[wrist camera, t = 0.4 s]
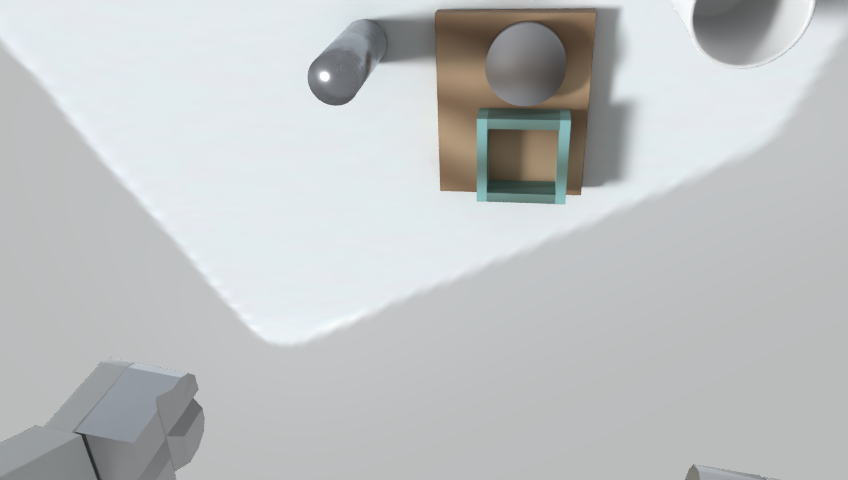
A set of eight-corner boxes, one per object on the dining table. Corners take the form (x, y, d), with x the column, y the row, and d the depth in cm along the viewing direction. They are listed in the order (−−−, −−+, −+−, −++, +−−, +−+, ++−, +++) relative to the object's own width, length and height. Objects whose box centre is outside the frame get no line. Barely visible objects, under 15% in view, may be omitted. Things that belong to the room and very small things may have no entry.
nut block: (437, 10, 54) (430, 22, 50) (594, 8, 52) (598, 21, 48) (442, 183, 61) (436, 203, 58) (580, 187, 59) (582, 209, 56)
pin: (341, 19, 55) (304, 54, 47) (385, 19, 55) (355, 54, 46) (346, 63, 57) (311, 105, 49) (388, 64, 56) (360, 105, 48)
